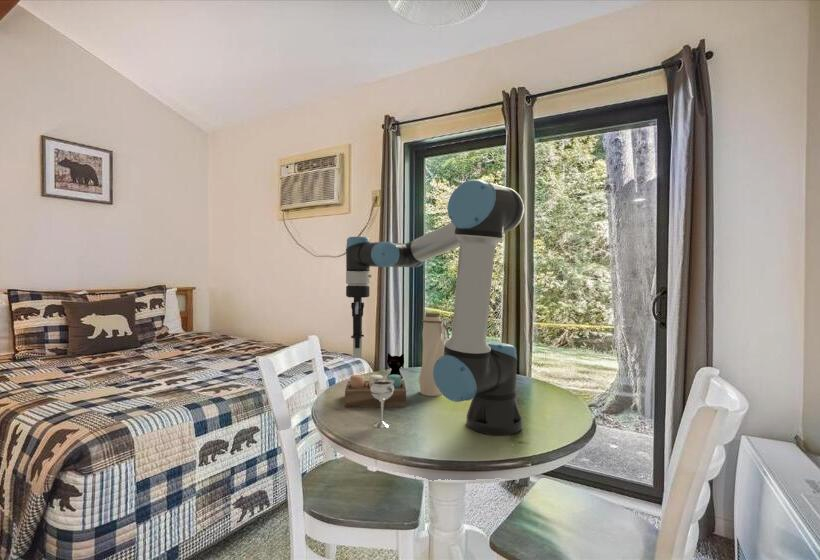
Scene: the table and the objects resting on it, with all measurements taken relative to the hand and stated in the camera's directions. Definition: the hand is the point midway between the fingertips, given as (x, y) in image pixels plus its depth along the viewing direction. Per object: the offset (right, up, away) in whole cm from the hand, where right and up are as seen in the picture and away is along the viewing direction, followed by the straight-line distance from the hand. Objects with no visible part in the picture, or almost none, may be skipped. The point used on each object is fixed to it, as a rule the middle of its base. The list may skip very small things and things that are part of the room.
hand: (357, 357), depth 138 cm
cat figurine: (+12, -14, +19) cm, 27 cm away
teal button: (+12, -12, +1) cm, 17 cm away
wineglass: (+9, -15, -20) cm, 27 cm away
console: (+6, -14, +1) cm, 15 cm away
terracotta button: (0, -11, 0) cm, 11 cm away
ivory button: (+6, -12, +1) cm, 13 cm away
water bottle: (+25, -14, +10) cm, 31 cm away
